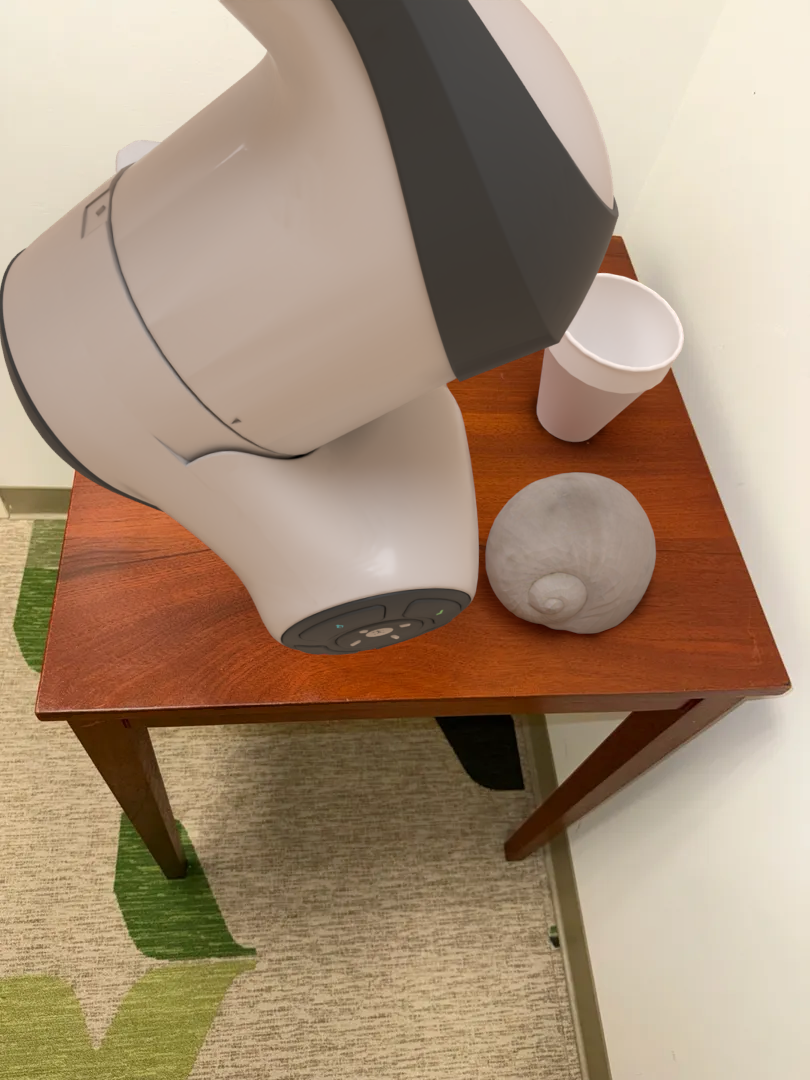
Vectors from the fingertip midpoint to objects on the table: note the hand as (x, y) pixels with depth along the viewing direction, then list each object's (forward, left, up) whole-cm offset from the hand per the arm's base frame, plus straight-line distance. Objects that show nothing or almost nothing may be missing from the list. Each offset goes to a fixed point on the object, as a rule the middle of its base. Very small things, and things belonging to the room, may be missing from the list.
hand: (321, 128), depth 42 cm
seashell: (+24, -10, -34) cm, 43 cm away
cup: (+29, +8, -34) cm, 46 cm away
